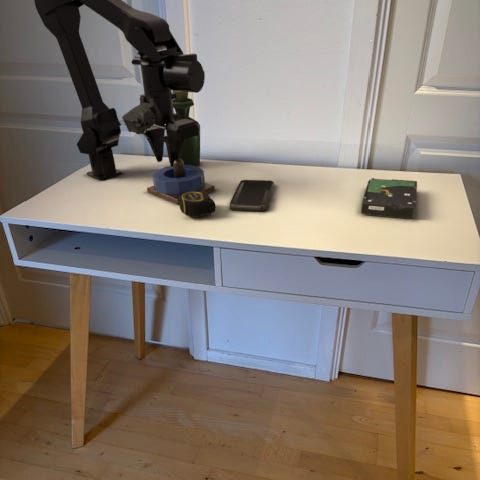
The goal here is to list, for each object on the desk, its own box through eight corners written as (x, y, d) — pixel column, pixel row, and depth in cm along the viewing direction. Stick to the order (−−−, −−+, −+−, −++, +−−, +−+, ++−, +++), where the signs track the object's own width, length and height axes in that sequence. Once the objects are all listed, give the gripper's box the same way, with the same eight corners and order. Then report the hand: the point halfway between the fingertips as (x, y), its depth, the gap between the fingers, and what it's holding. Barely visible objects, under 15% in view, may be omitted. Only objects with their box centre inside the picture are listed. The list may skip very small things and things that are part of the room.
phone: (228, 204, 102) (241, 179, 114) (229, 210, 103) (241, 184, 115) (266, 206, 101) (275, 180, 113) (266, 211, 101) (275, 185, 113)
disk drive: (414, 221, 96) (415, 192, 108) (416, 207, 95) (417, 179, 106) (360, 216, 99) (366, 188, 110) (361, 202, 97) (368, 176, 108)
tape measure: (217, 217, 100) (216, 199, 98) (184, 222, 99) (182, 204, 96) (208, 205, 105) (207, 188, 103) (177, 209, 104) (175, 192, 102)
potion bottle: (205, 168, 125) (200, 91, 114) (173, 172, 123) (165, 94, 113) (200, 159, 131) (194, 85, 121) (170, 162, 130) (161, 88, 119)
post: (147, 192, 112) (142, 159, 108) (184, 179, 119) (181, 148, 114) (178, 205, 106) (174, 170, 102) (215, 190, 112) (213, 157, 108)
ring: (144, 188, 111) (142, 175, 110) (179, 174, 118) (177, 161, 117) (179, 198, 106) (178, 185, 104) (214, 183, 113) (213, 170, 111)
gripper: (99, 90, 103) (113, 164, 112) (153, 101, 93) (163, 182, 102) (142, 81, 110) (152, 152, 119) (198, 91, 99) (203, 169, 108)
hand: (166, 163), depth 112 cm, fingers open, 4 cm apart
